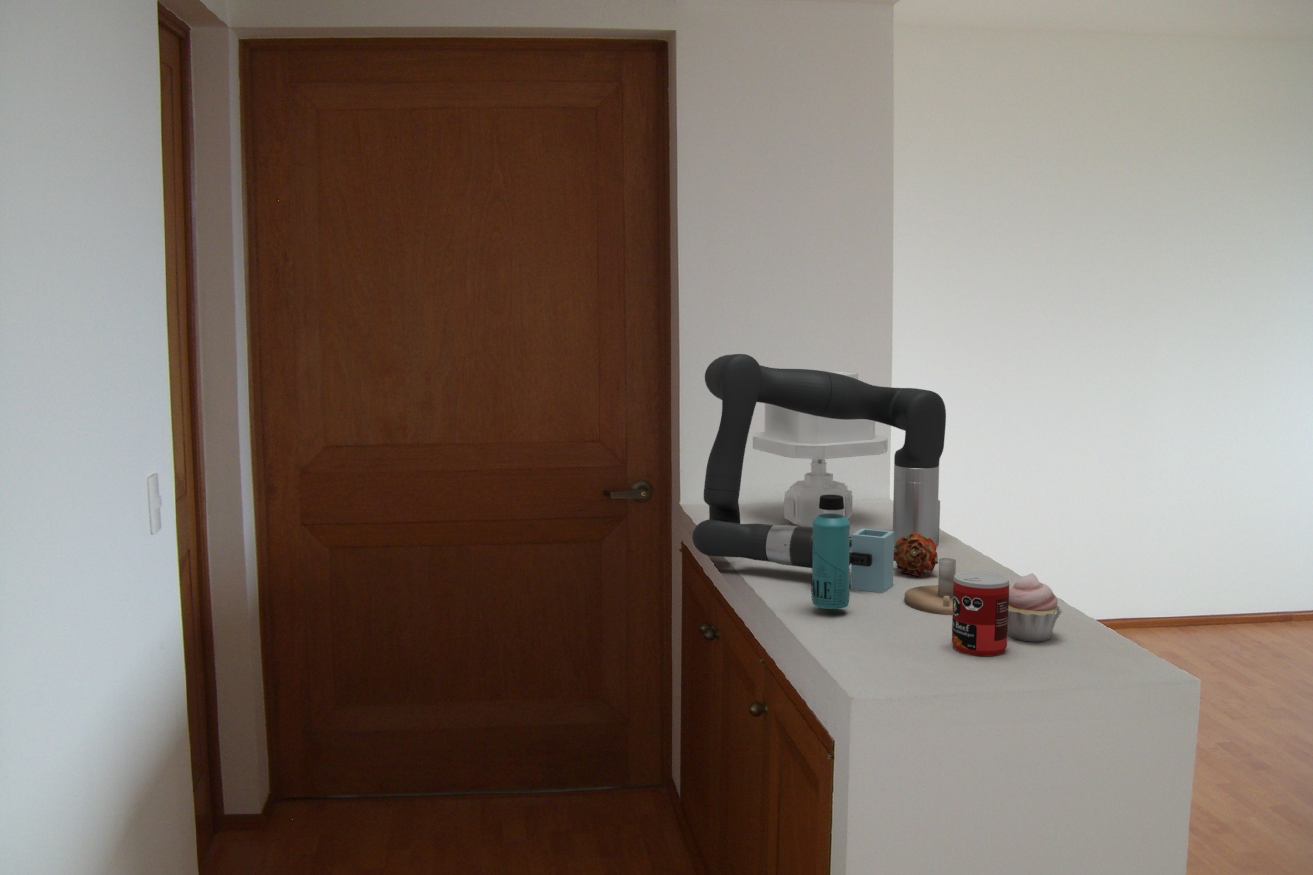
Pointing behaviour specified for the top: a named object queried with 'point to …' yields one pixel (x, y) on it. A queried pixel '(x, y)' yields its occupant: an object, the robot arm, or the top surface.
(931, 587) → the post plate
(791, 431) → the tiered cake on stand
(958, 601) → the canned food
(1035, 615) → the cupcake
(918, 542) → the dragon fruit
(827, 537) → the beverage bottle
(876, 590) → the blue pencil cup
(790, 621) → the top surface
